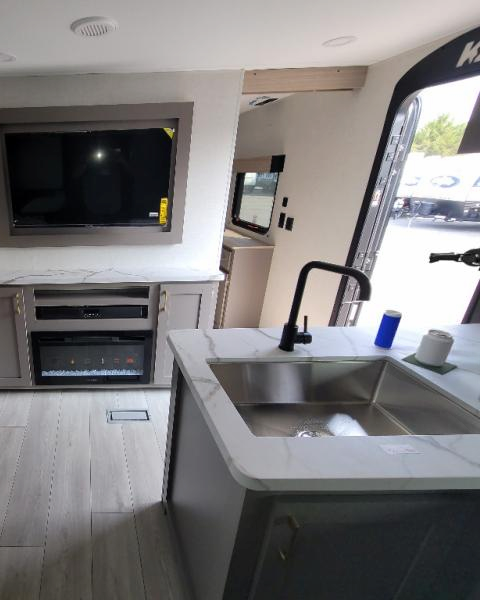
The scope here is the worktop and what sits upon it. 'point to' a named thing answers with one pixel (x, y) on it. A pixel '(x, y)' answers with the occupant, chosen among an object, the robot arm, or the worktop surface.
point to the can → (434, 347)
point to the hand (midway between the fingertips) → (454, 263)
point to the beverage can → (387, 329)
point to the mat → (439, 369)
